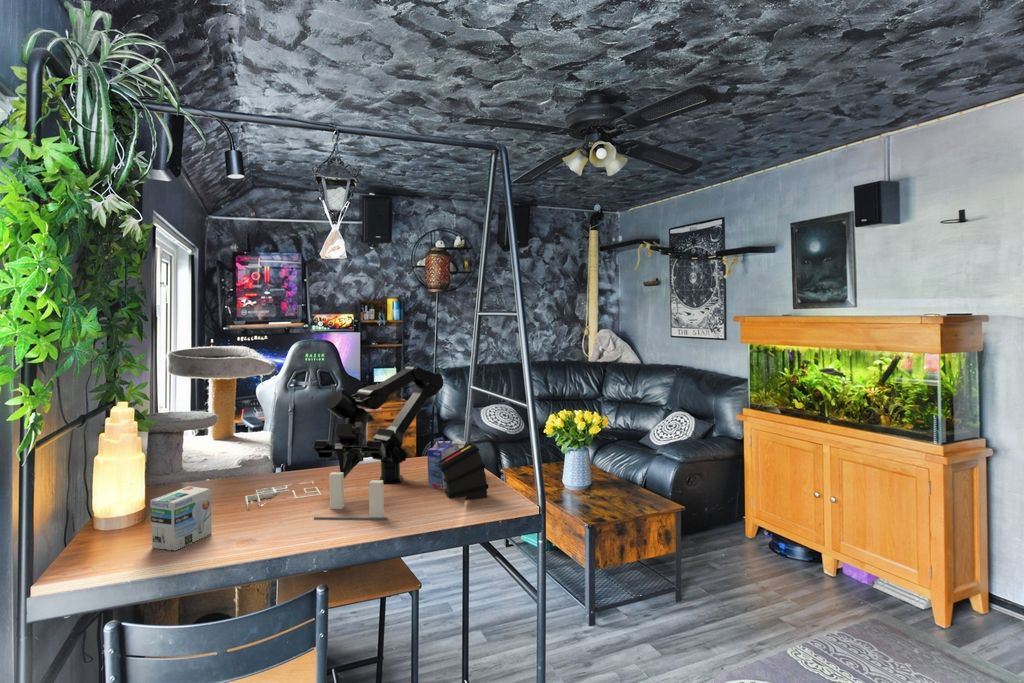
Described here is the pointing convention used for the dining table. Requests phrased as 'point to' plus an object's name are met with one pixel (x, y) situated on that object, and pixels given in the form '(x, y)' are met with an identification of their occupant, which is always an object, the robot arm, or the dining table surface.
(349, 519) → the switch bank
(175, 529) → the light bulb box
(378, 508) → the beige rectangular block
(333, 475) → the cream tall block
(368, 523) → the dining table surface
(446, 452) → the ink cartridge box
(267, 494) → the floor plan model
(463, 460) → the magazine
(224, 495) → the dining table surface
